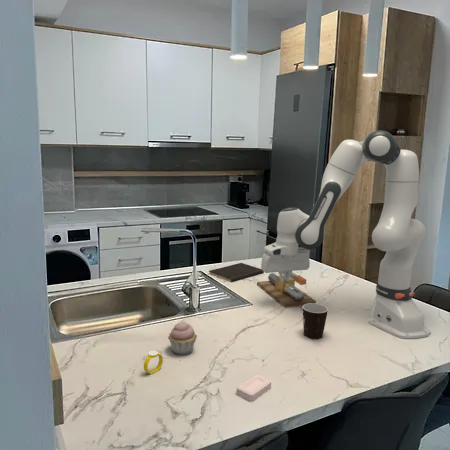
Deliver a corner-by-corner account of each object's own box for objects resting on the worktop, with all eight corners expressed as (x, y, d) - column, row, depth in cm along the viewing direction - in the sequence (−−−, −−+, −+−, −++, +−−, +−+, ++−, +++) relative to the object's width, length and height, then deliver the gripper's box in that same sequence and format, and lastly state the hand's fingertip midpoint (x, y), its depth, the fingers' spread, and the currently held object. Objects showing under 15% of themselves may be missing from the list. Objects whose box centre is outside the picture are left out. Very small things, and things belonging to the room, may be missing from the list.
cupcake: (195, 342, 142) (196, 314, 140) (198, 356, 133) (199, 326, 131) (166, 344, 141) (167, 315, 139) (168, 358, 132) (168, 327, 130)
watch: (148, 378, 121) (147, 359, 120) (142, 374, 123) (141, 355, 121) (165, 368, 126) (163, 350, 124) (158, 365, 127) (157, 347, 126)
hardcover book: (208, 275, 214) (208, 270, 213) (241, 266, 229) (241, 262, 229) (231, 283, 202) (231, 279, 202) (263, 274, 218) (264, 269, 218)
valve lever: (280, 272, 188) (281, 268, 188) (287, 272, 190) (287, 267, 189) (299, 285, 173) (300, 280, 173) (306, 284, 174) (307, 279, 174)
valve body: (305, 302, 178) (306, 283, 177) (293, 303, 176) (294, 284, 175) (277, 282, 202) (278, 265, 200) (266, 283, 200) (267, 266, 199)
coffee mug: (304, 327, 156) (306, 301, 154) (328, 333, 152) (330, 306, 150) (294, 340, 146) (296, 312, 144) (320, 346, 142) (322, 318, 140)
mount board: (315, 304, 179) (315, 300, 179) (285, 307, 174) (285, 304, 174) (284, 282, 205) (284, 279, 204) (257, 285, 200) (257, 281, 200)
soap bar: (271, 388, 118) (272, 380, 118) (251, 403, 111) (252, 394, 111) (255, 381, 122) (256, 373, 121) (235, 394, 115) (235, 386, 114)
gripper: (306, 244, 178) (303, 276, 181) (260, 247, 172) (258, 280, 174) (313, 248, 173) (311, 281, 175) (267, 251, 166) (265, 285, 169)
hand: (284, 281), depth 175 cm, fingers closed
